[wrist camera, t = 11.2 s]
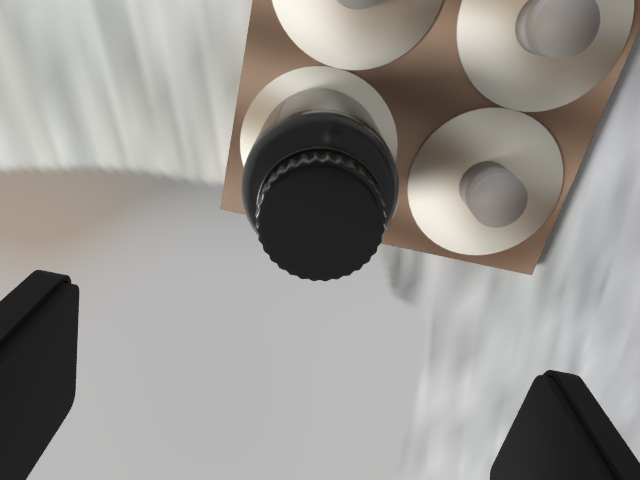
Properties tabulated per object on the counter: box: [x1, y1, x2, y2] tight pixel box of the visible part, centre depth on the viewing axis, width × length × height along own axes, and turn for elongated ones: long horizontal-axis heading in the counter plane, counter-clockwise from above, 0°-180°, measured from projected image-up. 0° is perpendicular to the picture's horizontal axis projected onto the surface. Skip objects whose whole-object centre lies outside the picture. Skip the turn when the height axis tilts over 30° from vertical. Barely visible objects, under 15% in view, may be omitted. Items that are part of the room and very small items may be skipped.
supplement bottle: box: [241, 88, 400, 281], centre depth 24 cm, size 7×7×12 cm
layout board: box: [220, 0, 640, 275], centre depth 28 cm, size 19×20×4 cm
